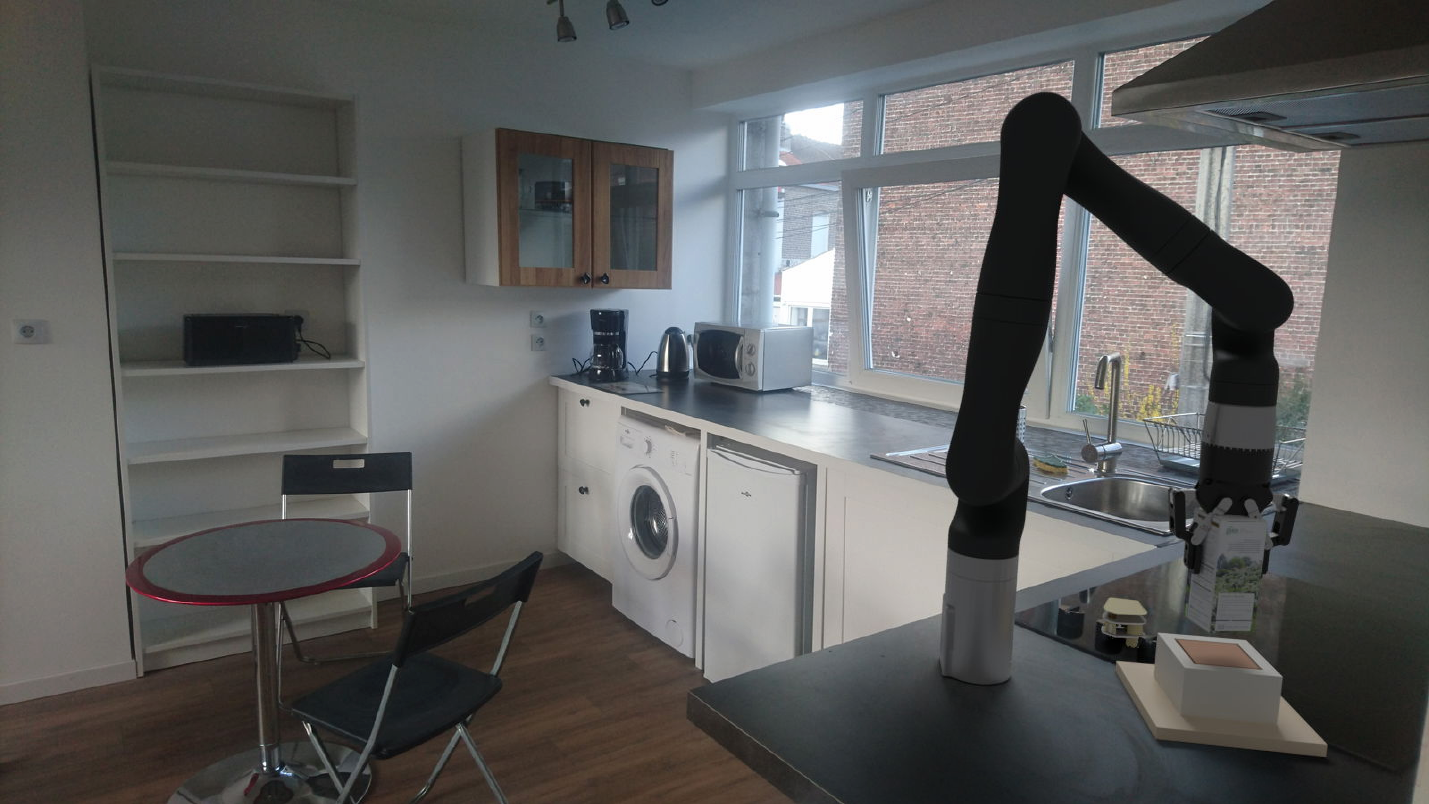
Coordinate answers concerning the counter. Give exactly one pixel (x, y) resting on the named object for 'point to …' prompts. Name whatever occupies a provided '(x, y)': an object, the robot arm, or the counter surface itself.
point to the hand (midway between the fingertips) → (1224, 574)
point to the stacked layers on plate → (1124, 619)
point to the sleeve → (1216, 701)
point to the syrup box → (1227, 575)
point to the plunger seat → (1216, 654)
